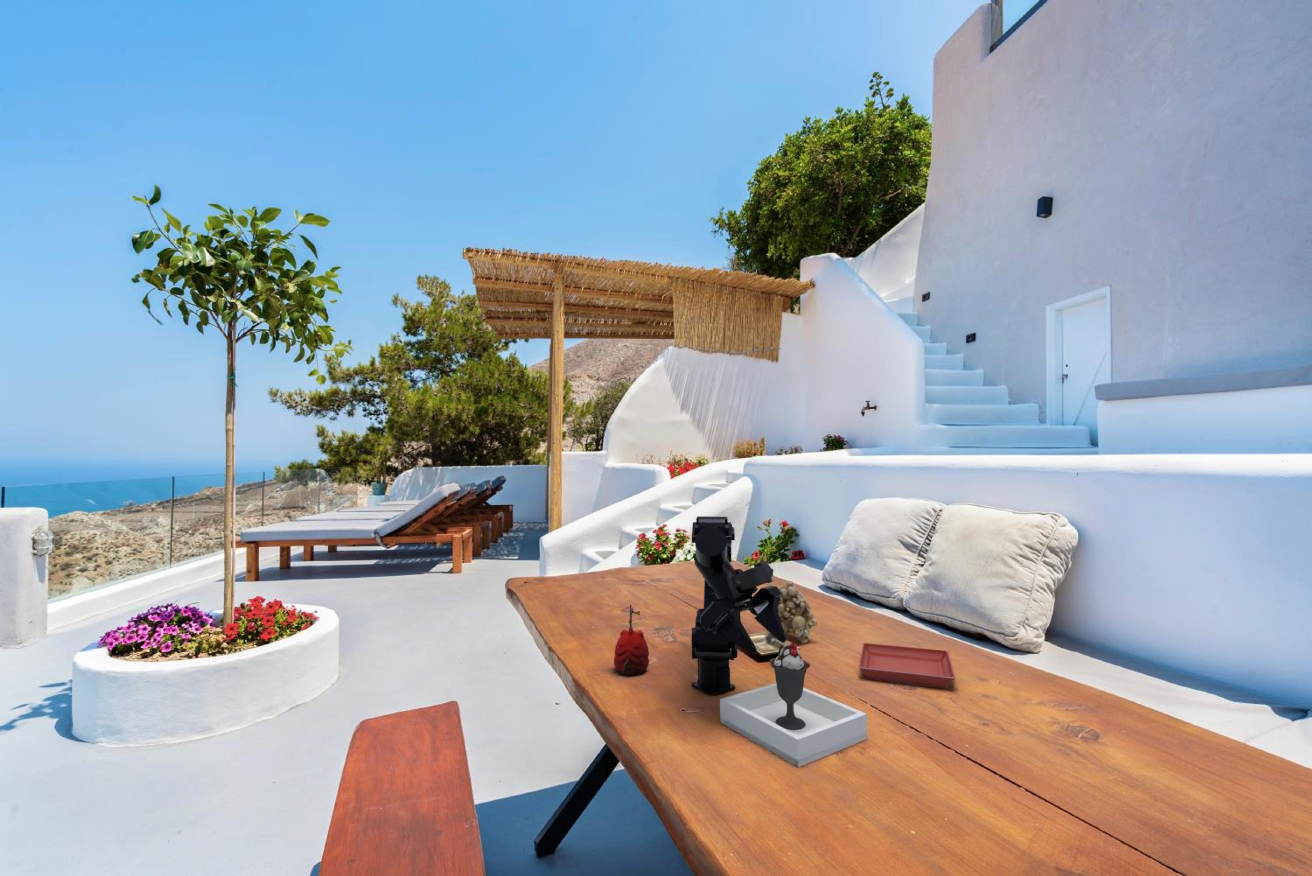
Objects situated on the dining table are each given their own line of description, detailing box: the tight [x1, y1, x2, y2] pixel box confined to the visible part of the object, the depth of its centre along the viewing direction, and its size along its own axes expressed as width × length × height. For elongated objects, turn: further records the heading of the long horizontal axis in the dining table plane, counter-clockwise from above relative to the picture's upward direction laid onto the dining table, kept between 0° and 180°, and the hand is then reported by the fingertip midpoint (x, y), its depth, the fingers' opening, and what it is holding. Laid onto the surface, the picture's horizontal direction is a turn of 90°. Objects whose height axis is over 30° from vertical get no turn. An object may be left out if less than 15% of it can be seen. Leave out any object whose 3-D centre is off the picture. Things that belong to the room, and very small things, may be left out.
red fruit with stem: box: [613, 604, 650, 676], centre depth 127 cm, size 8×7×15 cm
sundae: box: [769, 636, 811, 730], centre depth 99 cm, size 7×7×15 cm
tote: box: [719, 682, 868, 768], centre depth 99 cm, size 18×16×4 cm
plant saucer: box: [858, 642, 956, 689], centre depth 126 cm, size 18×18×3 cm
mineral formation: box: [767, 580, 818, 644], centre depth 150 cm, size 8×13×15 cm, turn 42°
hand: (770, 647), depth 102 cm, fingers open, 9 cm apart
